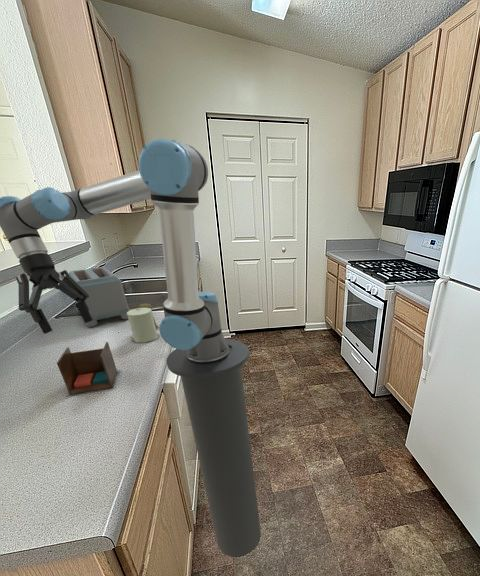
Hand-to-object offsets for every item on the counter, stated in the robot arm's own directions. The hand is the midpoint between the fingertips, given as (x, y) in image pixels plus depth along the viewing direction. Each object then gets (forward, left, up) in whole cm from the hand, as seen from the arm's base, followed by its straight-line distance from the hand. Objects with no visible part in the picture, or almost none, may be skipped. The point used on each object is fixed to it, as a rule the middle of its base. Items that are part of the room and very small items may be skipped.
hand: (70, 326), depth 99 cm
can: (-15, -29, -18) cm, 38 cm away
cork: (-16, -40, -18) cm, 47 cm away
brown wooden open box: (-2, +4, -18) cm, 19 cm away
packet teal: (-5, +3, -17) cm, 18 cm away
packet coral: (0, +3, -17) cm, 18 cm away
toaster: (+7, -69, -18) cm, 72 cm away
